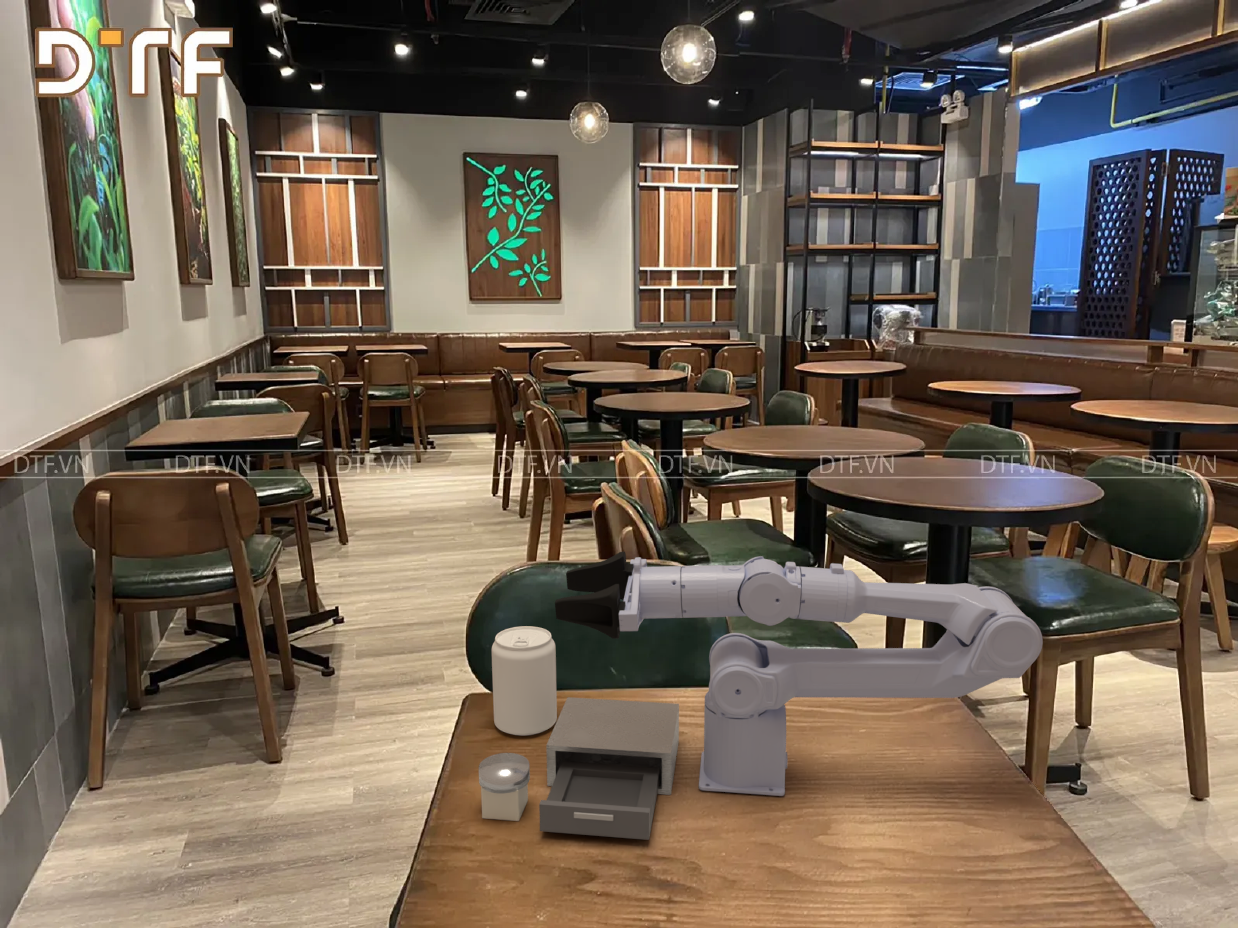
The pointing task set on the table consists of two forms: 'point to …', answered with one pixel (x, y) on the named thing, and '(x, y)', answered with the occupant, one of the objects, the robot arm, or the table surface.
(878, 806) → the table surface
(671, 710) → the box
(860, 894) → the table surface
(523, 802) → the riser block
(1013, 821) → the table surface
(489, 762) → the disc
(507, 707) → the beverage can
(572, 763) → the tray
